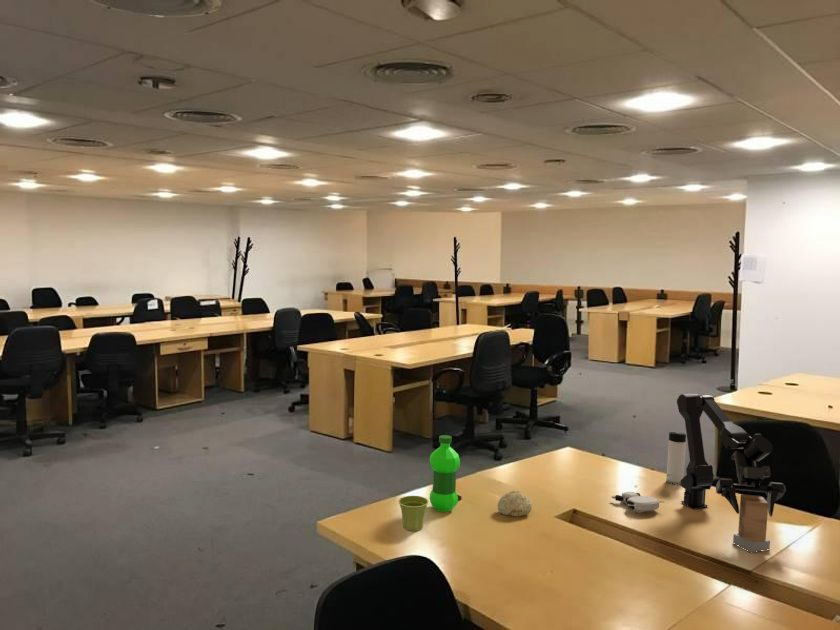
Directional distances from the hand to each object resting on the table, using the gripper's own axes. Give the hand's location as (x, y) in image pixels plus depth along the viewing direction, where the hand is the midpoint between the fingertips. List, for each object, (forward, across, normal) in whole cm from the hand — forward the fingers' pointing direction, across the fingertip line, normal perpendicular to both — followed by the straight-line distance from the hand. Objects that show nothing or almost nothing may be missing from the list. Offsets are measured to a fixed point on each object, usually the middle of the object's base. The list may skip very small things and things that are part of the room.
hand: (754, 514), depth 200 cm
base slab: (+7, 0, +8) cm, 11 cm away
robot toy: (-11, -30, +27) cm, 42 cm away
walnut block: (+4, 0, +6) cm, 8 cm away
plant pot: (+14, -102, +1) cm, 103 cm away
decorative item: (0, -72, +16) cm, 73 cm away
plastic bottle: (+2, -95, +14) cm, 96 cm away
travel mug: (-33, -12, +49) cm, 60 cm away
